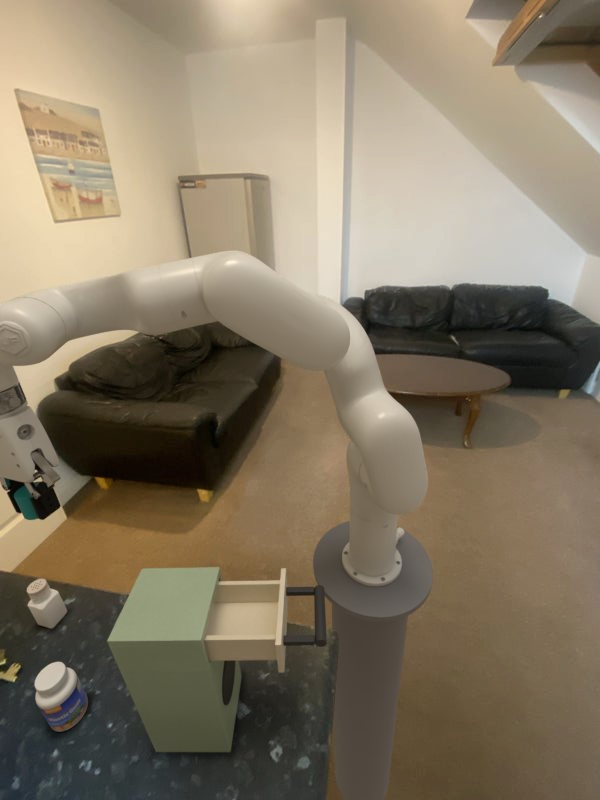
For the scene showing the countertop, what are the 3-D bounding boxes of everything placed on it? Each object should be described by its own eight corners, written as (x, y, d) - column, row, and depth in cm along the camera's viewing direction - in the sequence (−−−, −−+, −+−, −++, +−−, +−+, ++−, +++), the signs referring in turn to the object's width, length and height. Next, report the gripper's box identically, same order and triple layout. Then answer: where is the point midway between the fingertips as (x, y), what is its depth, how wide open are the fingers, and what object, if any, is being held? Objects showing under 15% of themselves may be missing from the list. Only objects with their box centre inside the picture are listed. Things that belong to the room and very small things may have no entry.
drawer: (324, 593, 53) (323, 567, 51) (327, 672, 44) (327, 644, 42) (213, 595, 54) (207, 569, 52) (193, 673, 45) (185, 645, 42)
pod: (56, 498, 58) (47, 478, 57) (53, 514, 55) (43, 493, 53) (26, 507, 57) (16, 486, 55) (21, 523, 54) (10, 502, 52)
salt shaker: (54, 607, 76) (37, 574, 72) (69, 611, 75) (53, 578, 70) (36, 625, 72) (18, 592, 68) (52, 630, 71) (35, 597, 67)
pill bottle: (54, 742, 55) (30, 706, 51) (47, 710, 59) (25, 675, 55) (93, 712, 59) (74, 677, 54) (84, 684, 62) (66, 649, 58)
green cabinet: (243, 675, 62) (222, 566, 51) (232, 752, 53) (203, 640, 42) (177, 676, 63) (141, 568, 52) (155, 752, 54) (106, 641, 43)
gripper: (61, 396, 49) (100, 504, 56) (-22, 384, 54) (24, 485, 62) (4, 423, 42) (57, 541, 50) (-84, 407, 48) (-24, 515, 56)
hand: (38, 509), depth 56 cm, fingers closed on pod, 4 cm apart
